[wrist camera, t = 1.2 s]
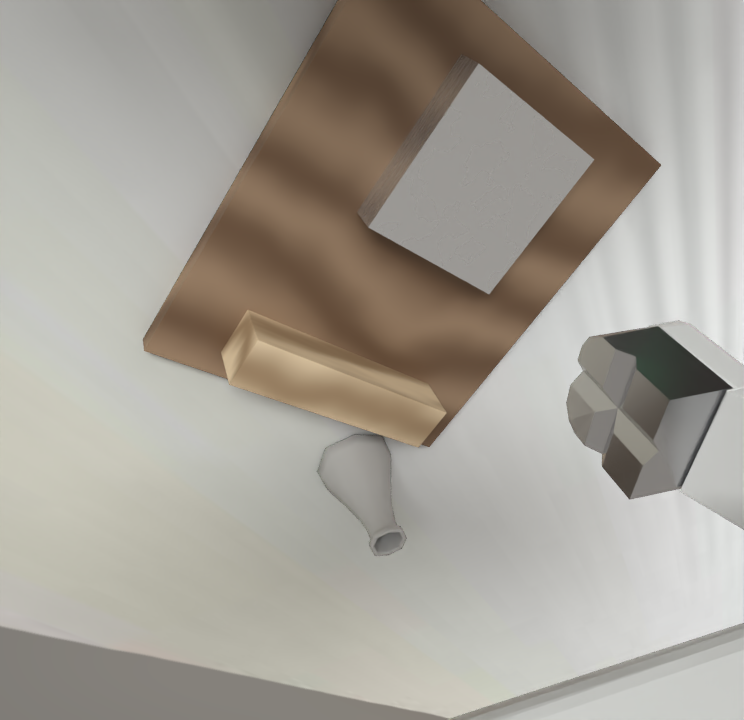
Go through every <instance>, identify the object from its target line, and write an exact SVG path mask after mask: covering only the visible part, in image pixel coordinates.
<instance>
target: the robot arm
mask: <svg viewBox="0 0 744 720" xmlns="http://www.w3.org/2000/svg"><path fill="white" fill-rule="evenodd" d="M578 362H579V364H580V366H581V368H582V370H583V372H582V373H581V374H580V375H579V376H578V377H577V378H576V379H575V380H574V382H573V383H572V384H571V385H570V390H569V394H568V398H567V402H566V404H567V411H568V418H569V422H570V424H571V426H572V428H573V430H574V433H575V434H576V435H577V437H578V438H579V439H580V440H581V442H582V443H583V444H584V445H585V446H587V447H589V448H591V449H593V450H595V451H597V452H599V453H601V454H602V467H603V468H604V470H605V471H606V472H607V473H608V474H609V476H610V477H611V478H612V479H613V480H614V482H615V483H616V484H617V485H618V486H619V488H620V489H621V490H622V491H623V492H624V493H625V495H626V496H627V497H628V498H629V499H634V498H639V497H644V496H648V495H653V494H658V493H662V492H667V491H672V490H676V489H681V490H680V492H681V493H683V494H685V495H686V496H688V497H690V498H691V499H693V500H695V501H697V502H698V503H700V504H702V505H703V506H705V507H707V508H708V509H710V510H712V511H713V512H715V513H717V514H718V515H720V516H722V517H723V518H725V519H727V520H728V521H730V522H732V523H733V524H735V525H737V526H738V527H740V528H742V529H743V530H744V365H743V364H741V363H740V362H739V361H737V360H736V359H735V358H734V357H732V356H731V355H730V354H728V353H727V352H726V351H725V350H723V349H722V348H721V347H719V346H718V345H717V344H716V343H714V342H713V341H712V340H710V339H709V338H708V337H707V336H705V335H704V334H703V333H701V332H700V331H699V330H698V329H696V328H695V327H694V326H693V325H691V324H689V323H686V322H682V321H679V320H678V321H673V322H667V323H662V324H657V325H651V326H649V327H646V328H639V329H633V330H627V331H621V332H616V333H610V334H604V335H598V336H592V337H589V338H588V339H587V340H586V342H585V343H584V344H583V345H582V348H581V351H580V354H579V357H578ZM447 720H744V623H742V624H738V625H735V626H732V627H729V628H726V629H723V630H720V631H717V632H714V633H711V634H708V635H705V636H702V637H699V638H695V639H692V640H689V641H686V642H683V643H680V644H677V645H674V646H671V647H668V648H665V649H662V650H659V651H656V652H652V653H649V654H646V655H643V656H640V657H637V658H634V659H631V660H628V661H625V662H622V663H619V664H616V665H613V666H609V667H606V668H603V669H600V670H597V671H594V672H591V673H588V674H585V675H582V676H579V677H576V678H573V679H570V680H566V681H563V682H560V683H557V684H554V685H551V686H548V687H545V688H542V689H539V690H536V691H533V692H530V693H527V694H523V695H520V696H517V697H514V698H511V699H508V700H505V701H502V702H499V703H496V704H493V705H490V706H487V707H484V708H481V709H478V710H475V711H471V712H468V713H465V714H462V715H459V716H456V717H453V718H450V719H447Z"/></svg>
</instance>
